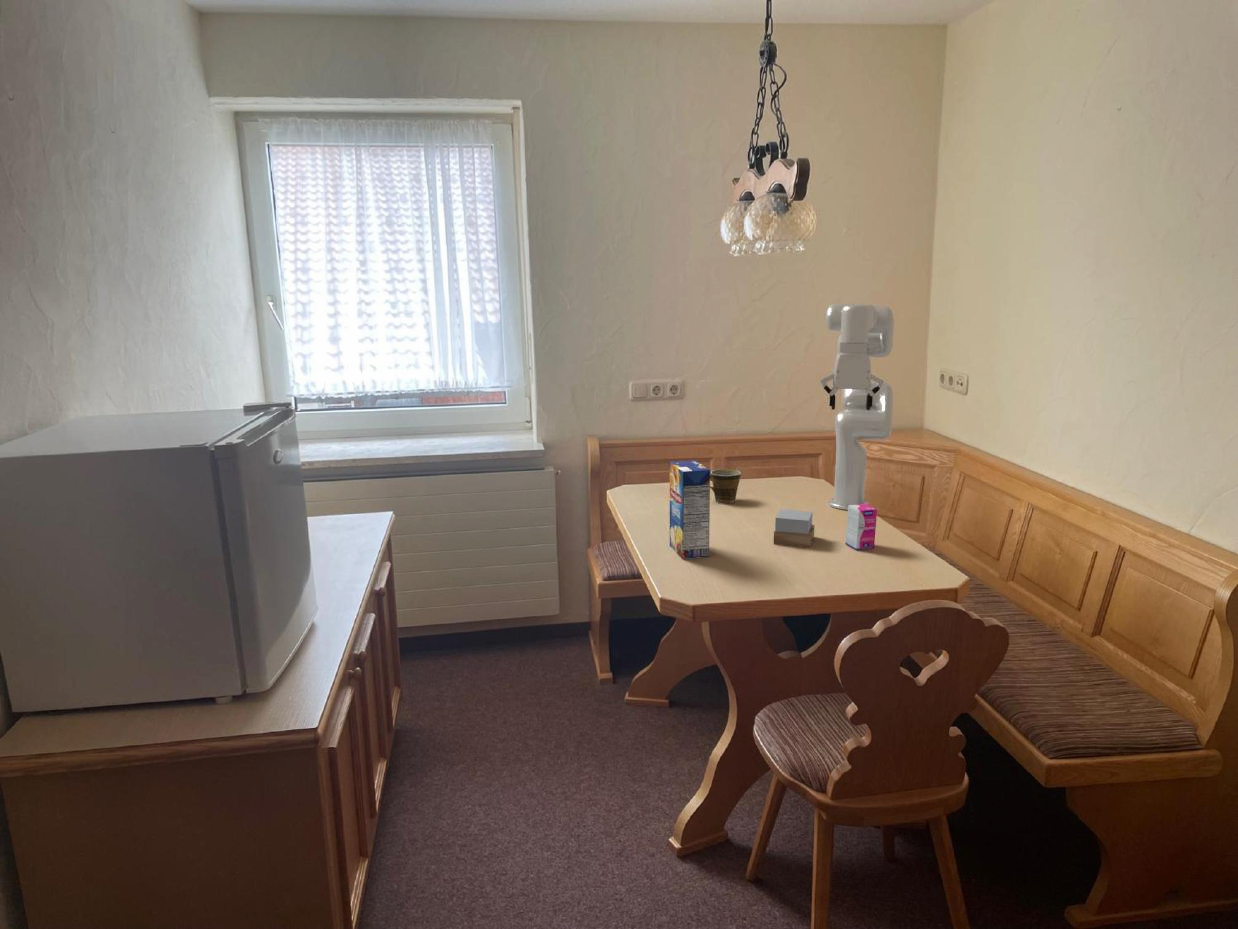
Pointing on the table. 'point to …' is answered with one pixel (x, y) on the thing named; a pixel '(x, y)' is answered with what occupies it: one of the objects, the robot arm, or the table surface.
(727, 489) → the ceramic cup
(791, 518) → the tower top slab
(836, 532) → the table surface
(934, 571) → the table surface
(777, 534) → the tower base slab
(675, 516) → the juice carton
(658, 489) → the table surface
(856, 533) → the supplement box
